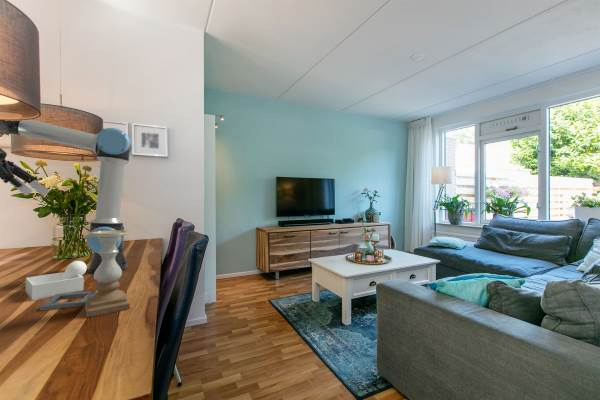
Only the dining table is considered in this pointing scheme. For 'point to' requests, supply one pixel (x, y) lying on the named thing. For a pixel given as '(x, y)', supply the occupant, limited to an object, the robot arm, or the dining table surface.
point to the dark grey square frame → (54, 305)
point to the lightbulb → (74, 270)
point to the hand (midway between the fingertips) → (38, 193)
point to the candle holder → (107, 278)
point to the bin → (52, 285)
